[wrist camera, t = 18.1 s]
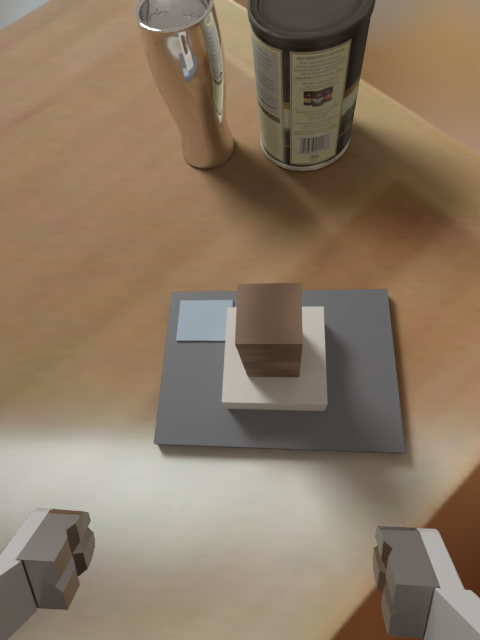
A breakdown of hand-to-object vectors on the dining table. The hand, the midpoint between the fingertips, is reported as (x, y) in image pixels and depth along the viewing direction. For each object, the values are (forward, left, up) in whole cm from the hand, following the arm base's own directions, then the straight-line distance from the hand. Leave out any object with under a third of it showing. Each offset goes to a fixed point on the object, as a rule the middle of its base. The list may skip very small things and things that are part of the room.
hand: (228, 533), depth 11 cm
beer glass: (-7, +37, -22) cm, 44 cm away
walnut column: (+1, +11, -18) cm, 21 cm away
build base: (+1, +11, -22) cm, 24 cm away
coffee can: (+4, +38, -22) cm, 44 cm away
